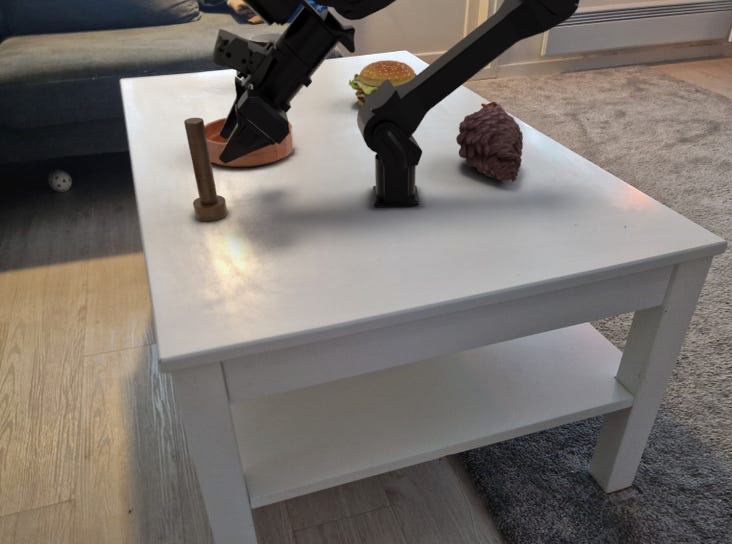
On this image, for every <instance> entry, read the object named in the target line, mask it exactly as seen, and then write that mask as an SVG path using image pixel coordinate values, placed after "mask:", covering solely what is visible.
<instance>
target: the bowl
mask: <svg viewBox="0 0 732 544" xmlns="http://www.w3.org/2000/svg"><path fill="white" fill-rule="evenodd" d="M226 118H227V117H222V118H219V119H216V120H213V121H211V122H208V123H206V124H204V127H205V132H206V138H207V143H208V149H209V154H210V160H211V163H213V164H217V165H220V166H224V167H230V168H251V167H260V166H264V165H267V164H268V165H269V164H273V163H276V162H277V161H279V160H281V159H283V158H285V157H287V156H288V155H290V154H291V153H292V152H293V151H294V147H295V142H294V133H293V125H292V124H291V122H290V121H289V120H288V123H289V134H288V135H287V137H286V138H285V139H284V140H283V141H282V142H281V144H278V143H276V144H275V145H269V146H266V147H264V148H261V149H259V150H256V151H254V152H251V153H249V154H247V155H245V156H242V157H240V158H238V159H236V160H233V161H231V162H229V163H227V164H224V163H223V162H222V161H220V160H219V156H220V154H221V152H222V150H223V148H224V146H225V144H226V143H227V141H228V139H229V138H228V139H224V138H222V137H221V136H220V131H221V129H222V127H223V125H224V123H225V120H226Z"/></svg>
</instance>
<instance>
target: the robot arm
mask: <svg viewBox="0 0 732 544" xmlns="http://www.w3.org/2000/svg"><path fill="white" fill-rule="evenodd" d="M311 1H312V2H313V3H314V4H315V5H317V6H322V7H328V8H333V9H334V10H335V12H336V13H337V14H338V15H339V16H341V17H342V18H344V19H345V20H347V21H348V20H350V21H360V20H362V19H365V18H368V17H369V16H371V15H373V14H375V13H377V12H379V11H381V10H383V9H386V8H387V7H388V6H390V5H392V4H393V3H395V2H397V0H311ZM241 2H243V4H245V5H246V7H248V8H249V9H250V10H251V11H252V12H253V13H254V14H255V15H257V17H258V18H259V19H261V21H262V22H264V24H266V25H267V26H268V27H270V26H273V24H276V25H277V26H280V27H283V26H284V25H285V24H287V23H288V21H289V20H290V19H291V18H292V17H293V15H294V14H295V12H297V10H298V9H299V7H300V5H302V8H301V9H300V10H299V12H298V13H297V14H296V16H294V18H293V19H292V21H291V22H290V23H289V25H288V26H287V27H286V29H285V30H284V31H283V32H282V35H281V36H280V37H279V39H278V40H277V41H275V40H273V41H271V40H270V41H269V42H268V43H267V45H266V46H265V47H261V46H259V45H257V44H255V43H253V42H251V41H249V39H248V38H245V37H242V36H239V35H238V34H235V33H233V32H230V31H228V30H225V29H222V28H219V29H218V33H217V36H216V40H215V43H214V48H213V51H212V57H211V61H212V63H214V64H215V65H217V66H220V67H221V68H224V67H226V68H229V69H231V70H234V71H236V72H235V73H236V76H234V87H235V95H236V96H235V99H234V101H233V103H232V105H231V107H230V110H229V111H228V114H227V117H225V118H226V120H225V123H224V125H223V127H222V129H221V131H220V136H221V137H222V138H224V139H228V138H229V139H228V141H227V143H226V144H225V146H224V148H223V150H222V152H221V154H220V156H219V160H220V161H222V162H223V163H224V164H227V163H229V162H231V161H233V160H236V159H238V158H240V157H242V156H245V155H247V154H249V153H251V152H254V151H256V150H259V149H261V148H264V147H266V146H269V145H275V144H276V143H278V144H281V142H282V141H283V140H284V139H285V138H286V137H287V135H288V134H289V123H288V121H289V117H288V114H287V113H288V112H289V111H290V109H291V108H292V105H291V102H292V101H293V99H294V98H295V97H296V96H297V95H298V93H299V92H300V91H301V89H302V88H303V87H305V88H308V87H309V86H310V85H311V84H312V83H313V80H312V76H313V75H314V74H315V73H316V71H317V70H318V69H319V68H320V67H321V66H322V64H323V63H324V62H325V60H327V58H328V57H329V56H330V55H331V53H332V52H333V51H334V50H335V49H336V47H337V46H338V45H339V44H341V45H342V46H343V47H344V48H345V49H346V51H348V52H349V53H350V54H354V53H355V52H356V46H355V34H356V28H355V27H354V26H353V25H352V24H349V25H348V24H347V25H344V24H343V23H341V21H340V20H339V19H338V18H337V17H336V16H335V15H334V14H333V13H332V12H331V11H330V10H329V9H326V8H325V9H323V10H322V11H321V12H319V11H318V10H317V9H316V8H314V7H313V5H311V3H310V2H308V0H241ZM579 3H580V0H503V2H502V3H501V5H500V6H499V8H498V9H497V11H496V12H494V13H493V14H492V15H491V16H490V17H488V18H487V19H486V20H485V21H483V22H482V23H481V24H479V25H478V26H477V27H475V28H474V29H473V30H472V31H471V32H470V33H468V34H467V35H466V36H464V37H463V38H462V39H460V41H458V42H457V43H456V44H455V45H453V46H452V47H451V48H449V49H448V50H447V51H445V52H444V53H443V54H441V56H439V57H438V58H436V59H435V60H434V61H433V62H432V63H431V64H429V65H428V66H427V67H426V68H424V69H422V71H420V72H419V73H418V74H416V75H417V76H415V77H414V78H413V79H412V80H410V81H409V82H407V83H404V84H401V85H398V86H395V87H394V86H393V84H392V83H391V81H390V80H389V79H386V80H385V81H384V82H383V83H382V84H381V85H380V86H379V87H378V89H376V90H375V91H374V92H372V93H371V94H368V95H365V96H364V98H365V100H366V101H365V102H364V103H363V104H362V105H361V106H360V105H359V106H360V107H359V108H358V110H357V117H356V123H357V128H358V129H359V130H358V131H359V132H360V134H361V137H362V139H363V141H364V143H365V145H366V147H367V148H368V149H369V150H370V151H372V152H374V153H376V154H375V155H374V171H375V172H374V173H375V178H374V179H375V185H373V186H372V201H373V204H372V205H373V207H375V208H376V207H377V208H379V207H380V208H381V207H382V208H383V207H385V208H386V207H418V206H420V198H419V193H418V187H417V185H416V170H417V169H416V167H417V166H419V163H420V161H421V158H422V155H423V150H422V148H421V147H420V145H419V144H418V141H417V140H416V139H415V137H414V136H413V135H414V134H415V133H416V131H417V129H418V128H419V126H420V125H421V123H422V122H423V120H424V119H425V117H426V115H427V114H428V112H429V111H430V110H432V109H433V108H434V107H436V105H438V104H439V103H441V102H442V101H443V100H445V99H446V98H447V97H448V96H450V95H451V94H453V92H455V91H456V90H457V89H459V88H461V86H462V85H464V84H465V83H466V82H468V81H469V80H470V79H472V78H473V77H474V76H475V75H477V74H479V73H480V72H481V71H482V70H483V69H484V68H486V67H487V66H489V65H490V64H491V63H492V62H494V61H495V60H496V59H497V58H499V57H500V56H502V55H503V54H504V53H505V52H506V51H508V50H509V49H510V48H511V47H513V46H514V45H516V44H518V43H519V42H521V41H524V40H527V39H529V38H532V37H536V36H538V35H542V34H544V33H546V32H548V31H549V30H552V29H553V28H555V27H557V26H559V25H561V24H563V23H564V22H566V21H568V20H569V19H571V18H572V16H573V15H575V13H576V12H577V10H578V9H579Z"/></svg>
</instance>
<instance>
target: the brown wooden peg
mask: <svg viewBox="0 0 732 544" xmlns="http://www.w3.org/2000/svg"><path fill="white" fill-rule="evenodd" d="M183 124H184V128H185V134H186V138H187V143H188V144H187V145H188V150H189V152H190V158H191V159H190V160H191V164H192V169H193V174H194V179H195V183H196V188H197V193H198V197H197V198H195V199H194V200H193V202H192V206H193V211H194V216H195V218H196V220H198V221H201V222H214V221H215V222H216V221H219V220H222V219H224V218H225V217H226V216H227V215H228V207H227V203H226V202H227V201H226V198H225V197H223V195H218V193H217V187H216V182H215V176H214V171H213V165H212V162H211V160H210V154H209V149H208V143H207V138H206V132H205V127H204V126H205V122H204V118H201V117H190V118H187V119H185V120H184V121H183Z"/></svg>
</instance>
